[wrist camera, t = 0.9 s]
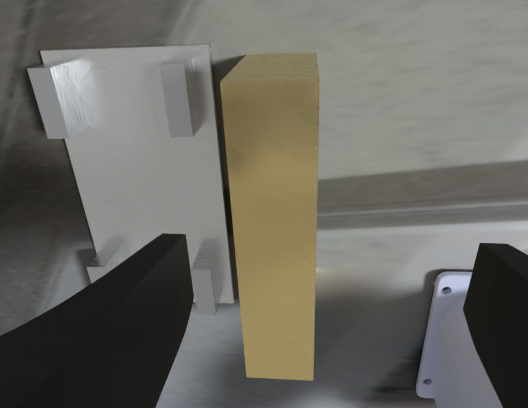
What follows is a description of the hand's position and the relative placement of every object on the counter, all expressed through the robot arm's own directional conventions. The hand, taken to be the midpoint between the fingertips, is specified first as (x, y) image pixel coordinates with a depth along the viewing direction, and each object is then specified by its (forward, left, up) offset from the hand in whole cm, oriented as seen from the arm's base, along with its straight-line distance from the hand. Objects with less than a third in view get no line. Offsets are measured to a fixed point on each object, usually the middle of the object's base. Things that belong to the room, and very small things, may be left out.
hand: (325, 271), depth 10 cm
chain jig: (-3, +9, -10) cm, 13 cm away
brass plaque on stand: (-3, +2, -10) cm, 11 cm away
